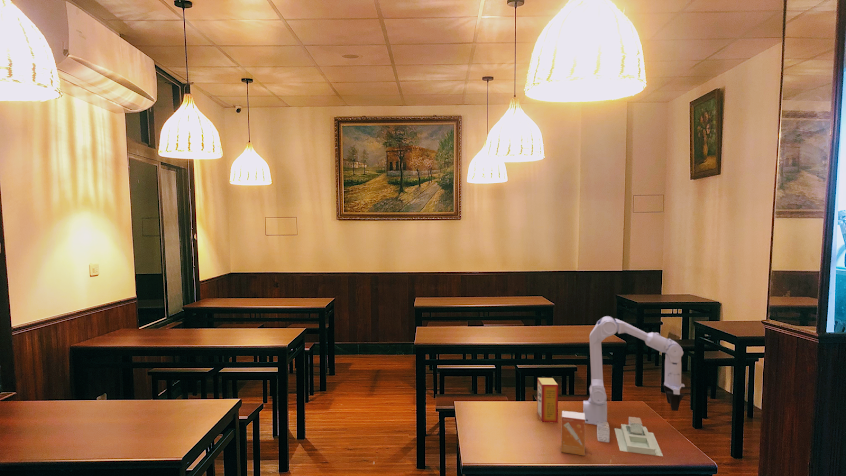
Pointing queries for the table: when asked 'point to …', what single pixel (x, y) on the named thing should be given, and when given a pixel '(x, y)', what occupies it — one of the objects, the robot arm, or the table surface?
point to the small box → (573, 433)
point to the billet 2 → (635, 426)
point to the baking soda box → (547, 400)
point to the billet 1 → (603, 431)
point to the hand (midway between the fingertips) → (672, 406)
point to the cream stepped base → (637, 441)
